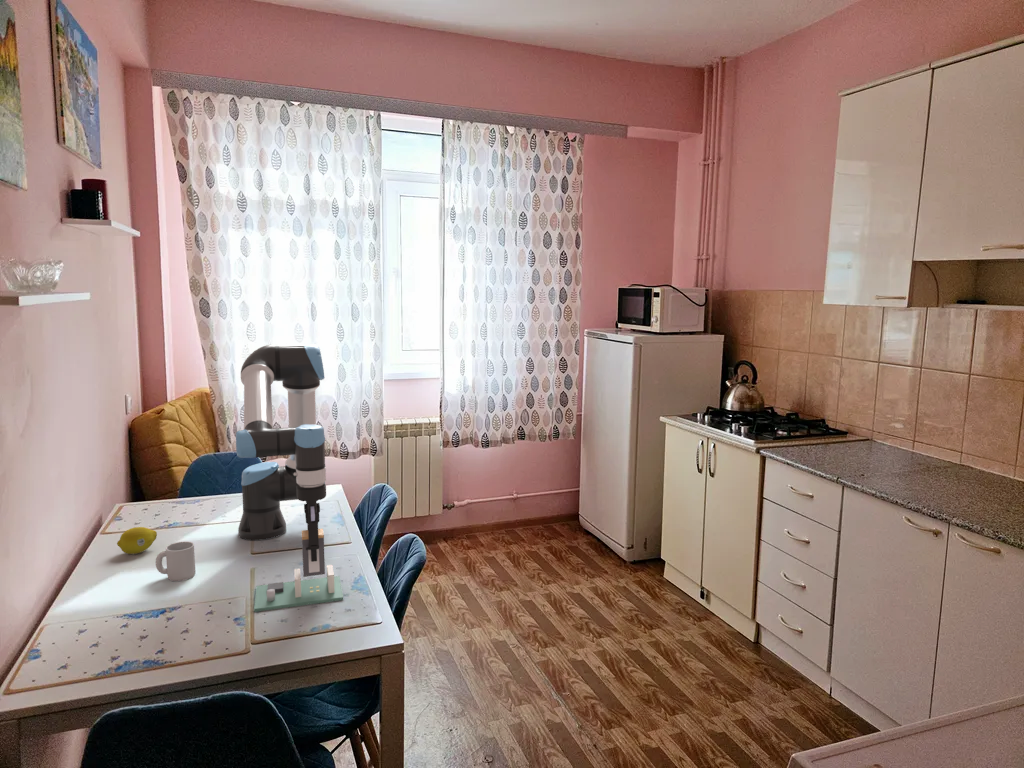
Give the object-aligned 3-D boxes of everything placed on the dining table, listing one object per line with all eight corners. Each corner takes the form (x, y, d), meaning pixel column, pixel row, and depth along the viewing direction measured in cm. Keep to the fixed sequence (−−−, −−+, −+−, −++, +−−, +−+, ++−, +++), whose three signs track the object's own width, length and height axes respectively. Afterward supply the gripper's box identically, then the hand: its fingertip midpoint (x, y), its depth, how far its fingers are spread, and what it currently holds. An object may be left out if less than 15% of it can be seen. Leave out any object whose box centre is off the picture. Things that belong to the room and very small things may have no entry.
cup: (194, 579, 186) (192, 549, 185) (154, 584, 183) (152, 553, 182) (197, 569, 193) (195, 540, 192) (158, 574, 190) (156, 544, 189)
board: (256, 588, 181) (255, 568, 180) (339, 578, 188) (338, 558, 187) (254, 611, 168) (253, 590, 167) (343, 600, 175) (342, 579, 174)
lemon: (118, 560, 199) (116, 534, 198) (117, 551, 206) (115, 527, 205) (158, 553, 205) (157, 528, 204) (157, 545, 211) (155, 521, 210)
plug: (303, 569, 180) (301, 530, 178) (324, 567, 181) (322, 528, 180) (303, 576, 175) (302, 536, 174) (325, 574, 177) (323, 534, 175)
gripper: (295, 475, 182) (298, 556, 185) (296, 494, 165) (299, 583, 168) (324, 473, 185) (326, 553, 188) (327, 491, 168) (330, 579, 171)
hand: (313, 567), depth 178 cm, fingers closed on plug, 5 cm apart
